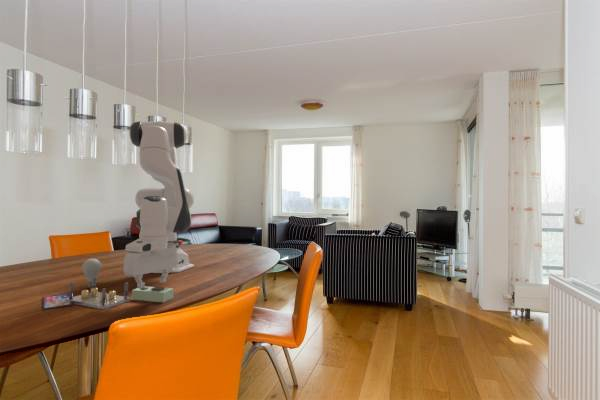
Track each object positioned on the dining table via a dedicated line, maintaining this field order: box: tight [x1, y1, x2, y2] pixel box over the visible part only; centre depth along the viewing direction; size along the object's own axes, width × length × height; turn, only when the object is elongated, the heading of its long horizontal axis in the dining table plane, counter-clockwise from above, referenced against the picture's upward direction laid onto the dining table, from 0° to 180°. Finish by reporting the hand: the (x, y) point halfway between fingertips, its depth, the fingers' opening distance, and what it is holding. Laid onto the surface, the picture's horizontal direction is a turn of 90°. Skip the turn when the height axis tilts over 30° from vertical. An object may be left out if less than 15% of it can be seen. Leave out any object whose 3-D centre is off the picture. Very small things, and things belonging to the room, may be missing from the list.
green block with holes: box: [131, 285, 175, 303], centre depth 115 cm, size 6×12×4 cm, turn 79°
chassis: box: [66, 278, 132, 310], centre depth 110 cm, size 10×17×6 cm, turn 68°
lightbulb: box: [81, 258, 102, 289], centre depth 126 cm, size 6×6×11 cm
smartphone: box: [41, 293, 73, 311], centre depth 109 cm, size 8×1×15 cm
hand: (152, 285), depth 114 cm, fingers open, 8 cm apart
